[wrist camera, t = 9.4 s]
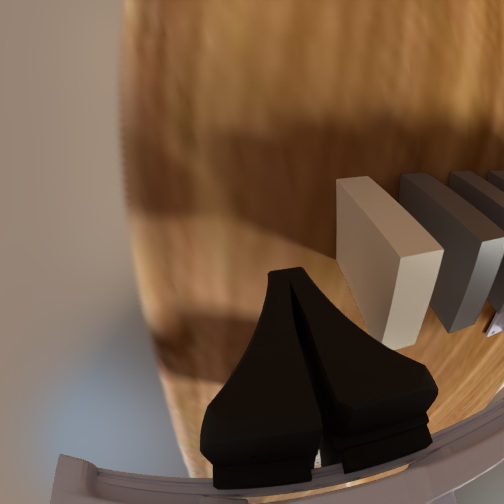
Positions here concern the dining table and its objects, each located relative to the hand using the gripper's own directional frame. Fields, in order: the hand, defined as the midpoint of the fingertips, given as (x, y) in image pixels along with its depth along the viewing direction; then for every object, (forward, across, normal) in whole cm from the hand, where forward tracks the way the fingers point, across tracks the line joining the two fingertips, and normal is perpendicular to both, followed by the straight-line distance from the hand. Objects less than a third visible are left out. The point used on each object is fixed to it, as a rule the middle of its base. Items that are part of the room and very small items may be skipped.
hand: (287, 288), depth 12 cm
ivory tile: (+5, -4, 0) cm, 6 cm away
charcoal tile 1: (+5, -8, 0) cm, 9 cm away
